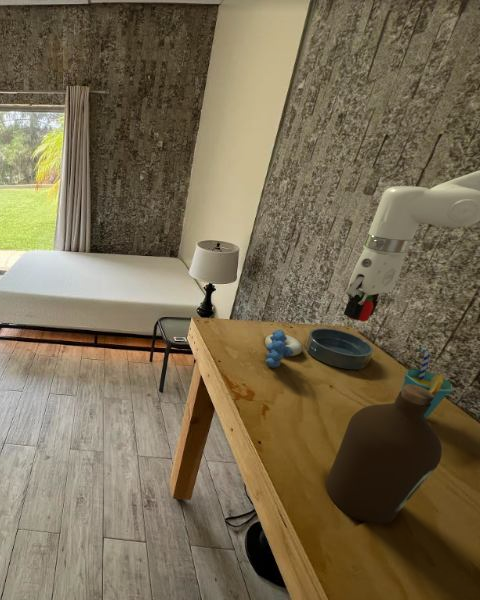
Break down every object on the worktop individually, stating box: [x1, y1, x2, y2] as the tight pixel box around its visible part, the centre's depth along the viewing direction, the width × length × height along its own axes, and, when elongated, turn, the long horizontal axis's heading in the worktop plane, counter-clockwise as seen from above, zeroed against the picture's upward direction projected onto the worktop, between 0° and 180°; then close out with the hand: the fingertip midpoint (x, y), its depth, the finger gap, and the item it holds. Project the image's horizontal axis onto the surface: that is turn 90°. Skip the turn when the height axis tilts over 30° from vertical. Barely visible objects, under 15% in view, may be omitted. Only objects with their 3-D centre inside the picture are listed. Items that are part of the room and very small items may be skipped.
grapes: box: [265, 329, 293, 368], centre depth 89 cm, size 12×7×12 cm, turn 152°
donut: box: [264, 333, 303, 357], centre depth 99 cm, size 10×4×10 cm
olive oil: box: [325, 384, 443, 524], centre depth 51 cm, size 11×11×25 cm
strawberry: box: [346, 293, 374, 322], centre depth 79 cm, size 4×4×6 cm
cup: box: [400, 346, 453, 420], centre depth 72 cm, size 14×8×15 cm, turn 156°
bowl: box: [304, 327, 375, 370], centre depth 95 cm, size 15×15×5 cm
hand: (357, 314), depth 79 cm, fingers closed on strawberry, 4 cm apart
